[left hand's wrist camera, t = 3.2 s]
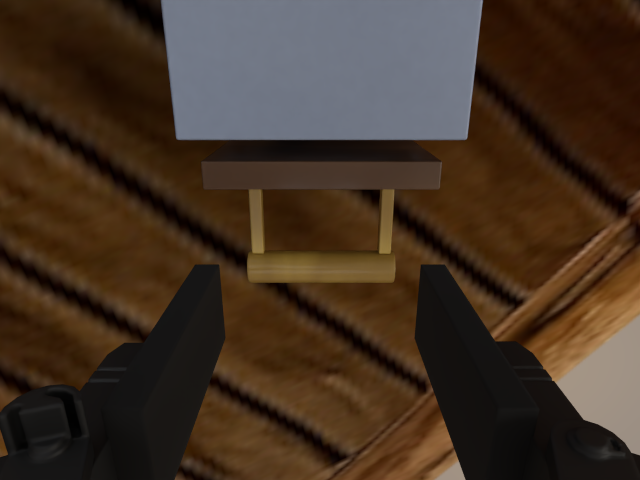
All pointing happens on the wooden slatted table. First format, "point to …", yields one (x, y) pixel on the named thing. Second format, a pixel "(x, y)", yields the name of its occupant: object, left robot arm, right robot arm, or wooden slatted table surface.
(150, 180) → the wooden slatted table surface
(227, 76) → the cabinet
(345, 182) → the drawer
